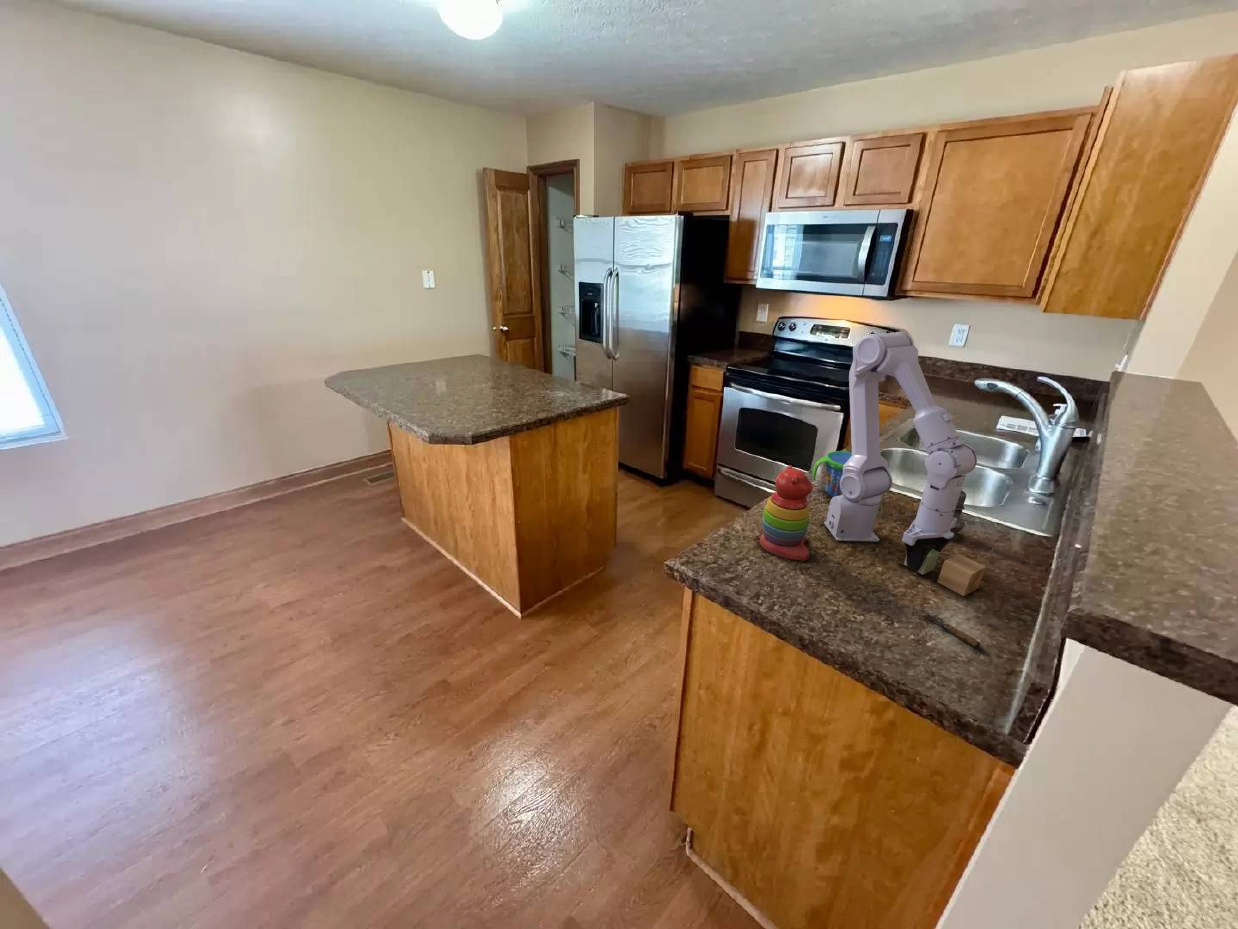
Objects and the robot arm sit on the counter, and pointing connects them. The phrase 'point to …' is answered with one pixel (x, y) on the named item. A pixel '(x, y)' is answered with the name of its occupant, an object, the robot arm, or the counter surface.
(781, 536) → the stacking bear
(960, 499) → the grey fire hydrant
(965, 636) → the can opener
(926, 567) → the top cube
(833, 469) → the snack cup
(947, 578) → the base block
